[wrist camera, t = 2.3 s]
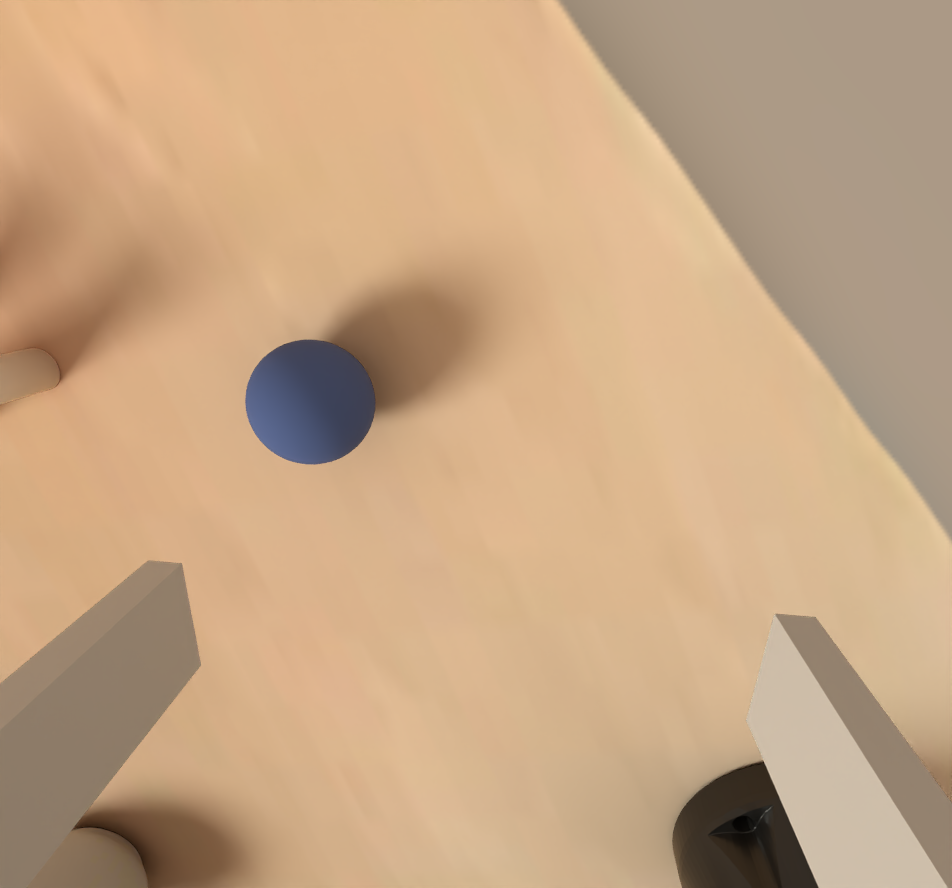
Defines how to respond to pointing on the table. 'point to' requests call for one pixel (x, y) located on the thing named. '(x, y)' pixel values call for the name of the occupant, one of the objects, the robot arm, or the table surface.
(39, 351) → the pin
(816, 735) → the robot arm
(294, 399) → the ball
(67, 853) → the teacup
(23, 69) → the table surface
